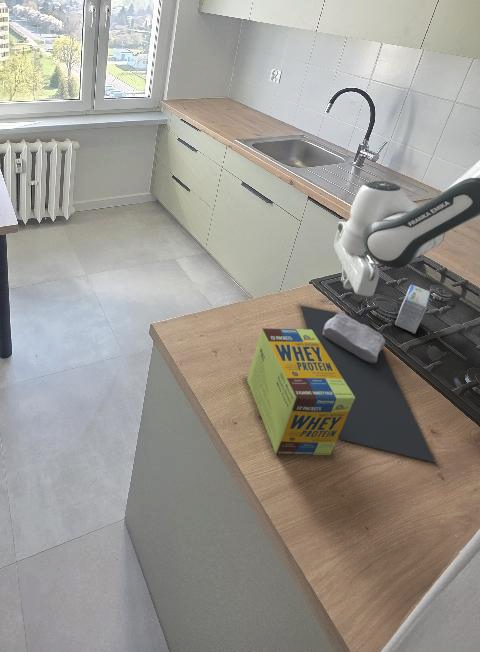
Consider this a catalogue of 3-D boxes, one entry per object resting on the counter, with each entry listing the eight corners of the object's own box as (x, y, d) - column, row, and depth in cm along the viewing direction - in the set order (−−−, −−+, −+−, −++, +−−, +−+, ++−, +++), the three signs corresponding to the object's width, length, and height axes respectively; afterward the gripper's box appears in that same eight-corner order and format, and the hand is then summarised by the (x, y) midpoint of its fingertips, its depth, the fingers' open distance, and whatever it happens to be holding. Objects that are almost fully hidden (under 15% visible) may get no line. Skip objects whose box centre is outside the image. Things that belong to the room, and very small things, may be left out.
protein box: (275, 456, 75) (296, 398, 69) (246, 380, 89) (260, 326, 83) (332, 456, 76) (357, 398, 69) (293, 381, 90) (312, 327, 84)
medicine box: (414, 334, 103) (427, 308, 100) (393, 324, 106) (405, 298, 102) (419, 317, 109) (431, 291, 105) (399, 308, 111) (410, 283, 108)
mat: (366, 318, 108) (367, 318, 107) (435, 463, 75) (435, 462, 75) (300, 306, 111) (300, 305, 111) (339, 439, 79) (339, 439, 79)
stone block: (331, 322, 108) (318, 335, 101) (338, 307, 106) (325, 319, 100) (382, 352, 100) (372, 369, 93) (391, 336, 99) (381, 352, 92)
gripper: (392, 269, 93) (373, 316, 99) (362, 222, 111) (347, 263, 117) (361, 264, 94) (344, 311, 100) (336, 218, 112) (322, 259, 118)
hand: (345, 285), depth 108 cm, fingers closed
